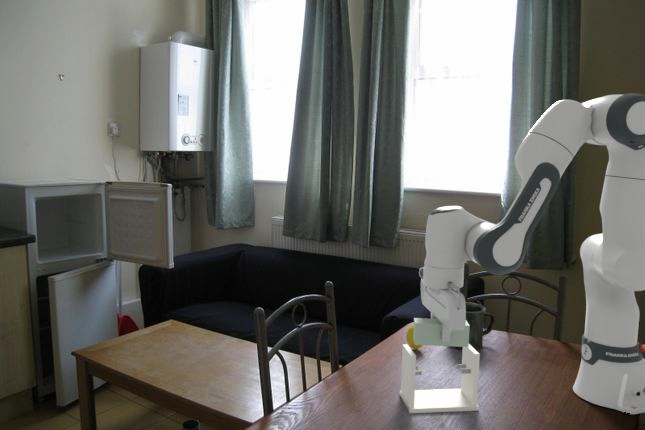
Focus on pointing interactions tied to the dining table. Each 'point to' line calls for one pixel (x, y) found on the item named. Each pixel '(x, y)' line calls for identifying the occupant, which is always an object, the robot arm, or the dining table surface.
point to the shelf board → (438, 333)
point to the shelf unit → (441, 397)
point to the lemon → (410, 338)
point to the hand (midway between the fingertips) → (440, 335)
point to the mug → (477, 324)
